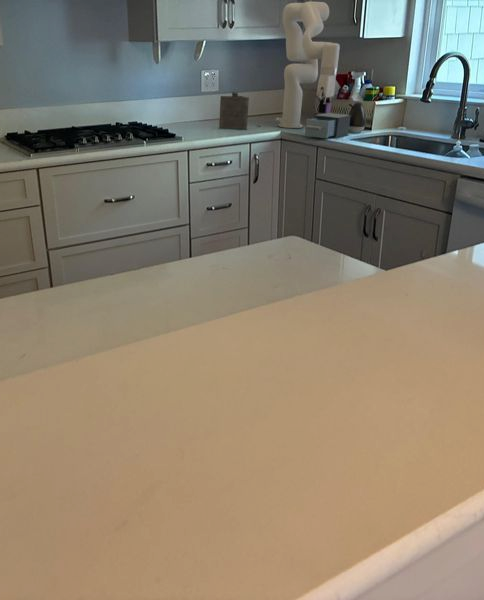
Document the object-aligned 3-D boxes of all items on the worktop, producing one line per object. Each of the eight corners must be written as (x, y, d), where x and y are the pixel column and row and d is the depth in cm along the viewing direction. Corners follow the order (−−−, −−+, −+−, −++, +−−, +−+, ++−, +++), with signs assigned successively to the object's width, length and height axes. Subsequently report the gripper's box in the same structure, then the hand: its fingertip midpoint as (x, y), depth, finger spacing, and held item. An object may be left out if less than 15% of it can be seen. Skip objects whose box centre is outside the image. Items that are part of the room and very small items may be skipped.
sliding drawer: (322, 139, 286) (324, 122, 283) (300, 136, 292) (302, 119, 289) (338, 135, 300) (340, 118, 297) (317, 132, 306) (318, 116, 303)
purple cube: (317, 112, 293) (318, 102, 291) (321, 111, 296) (322, 102, 294) (326, 113, 291) (327, 103, 289) (330, 112, 294) (331, 103, 292)
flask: (219, 127, 319) (221, 91, 312) (247, 128, 317) (249, 92, 310) (218, 128, 316) (220, 91, 309) (246, 129, 314) (248, 92, 307)
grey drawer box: (336, 138, 297) (338, 117, 293) (312, 135, 304) (314, 115, 300) (348, 135, 308) (350, 115, 304) (325, 132, 315) (327, 112, 311)
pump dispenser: (339, 131, 319) (343, 100, 313) (355, 130, 323) (359, 100, 317) (352, 134, 310) (356, 102, 304) (368, 133, 314) (372, 102, 308)
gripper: (328, 70, 294) (324, 110, 302) (313, 71, 282) (309, 113, 289) (343, 71, 290) (338, 111, 298) (328, 73, 278) (323, 114, 285)
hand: (324, 112), depth 293 cm, fingers closed on purple cube, 4 cm apart
